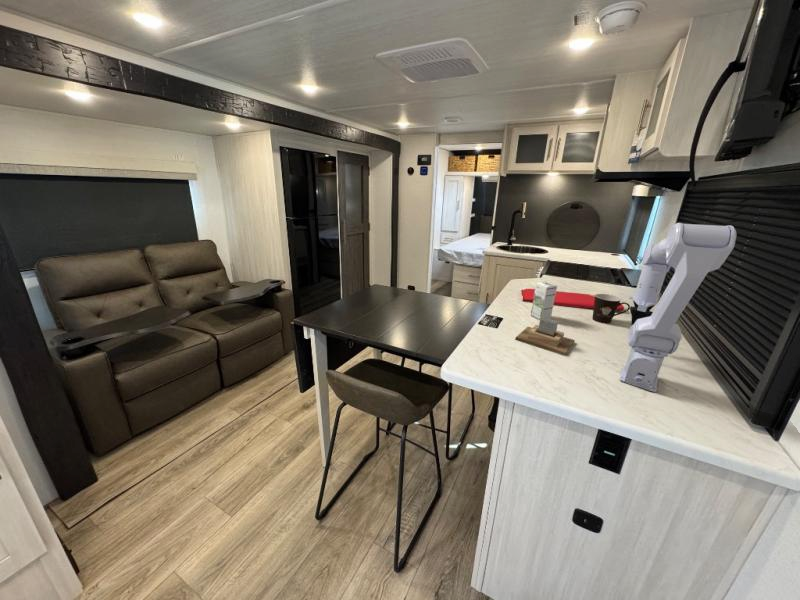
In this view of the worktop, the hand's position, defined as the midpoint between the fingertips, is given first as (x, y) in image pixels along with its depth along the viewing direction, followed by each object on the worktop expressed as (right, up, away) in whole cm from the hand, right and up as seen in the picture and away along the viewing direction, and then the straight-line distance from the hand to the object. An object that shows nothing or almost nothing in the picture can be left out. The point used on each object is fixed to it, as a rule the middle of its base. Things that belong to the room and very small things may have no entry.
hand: (636, 326), depth 97 cm
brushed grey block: (-25, -5, +9) cm, 27 cm away
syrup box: (-17, +1, +29) cm, 34 cm away
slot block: (-25, -6, +9) cm, 27 cm away
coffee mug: (+8, -1, +27) cm, 28 cm away
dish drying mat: (+4, +7, +48) cm, 49 cm away
